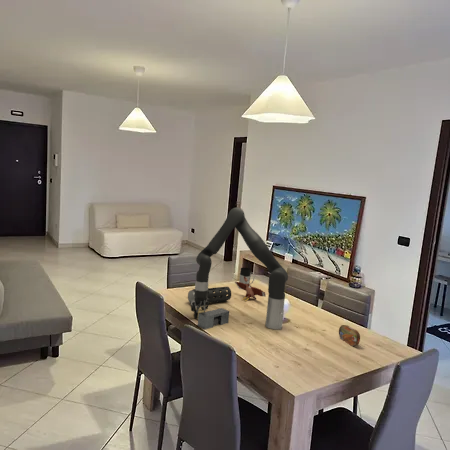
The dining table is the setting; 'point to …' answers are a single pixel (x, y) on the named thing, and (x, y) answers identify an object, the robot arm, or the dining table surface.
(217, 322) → the plug rod
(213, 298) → the muzzle brake
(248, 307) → the dining table surface
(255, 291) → the decorative bird
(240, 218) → the robot arm
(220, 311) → the block
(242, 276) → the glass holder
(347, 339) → the tin
